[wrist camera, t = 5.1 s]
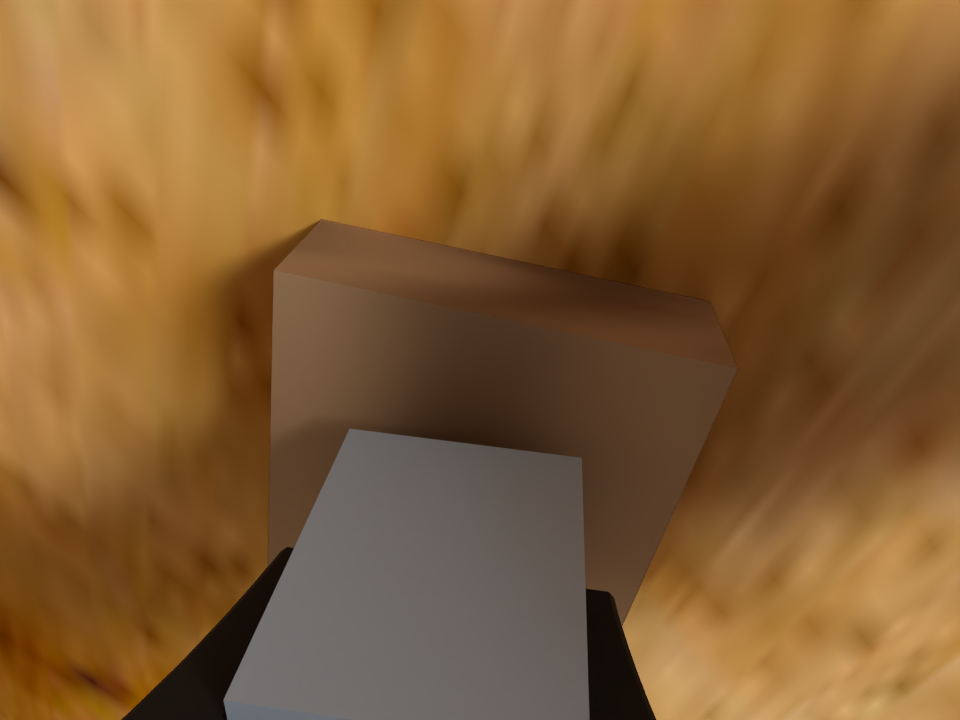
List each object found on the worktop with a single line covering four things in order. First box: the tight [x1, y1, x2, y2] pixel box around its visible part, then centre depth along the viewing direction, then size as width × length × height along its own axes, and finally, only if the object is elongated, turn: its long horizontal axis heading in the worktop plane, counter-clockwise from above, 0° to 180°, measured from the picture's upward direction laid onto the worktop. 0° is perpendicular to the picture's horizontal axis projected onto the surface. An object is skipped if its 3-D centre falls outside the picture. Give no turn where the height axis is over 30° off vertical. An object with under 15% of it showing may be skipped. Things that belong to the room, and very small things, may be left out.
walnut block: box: [268, 219, 738, 625], centre depth 15 cm, size 8×8×3 cm
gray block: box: [223, 429, 589, 720], centre depth 10 cm, size 4×4×5 cm
